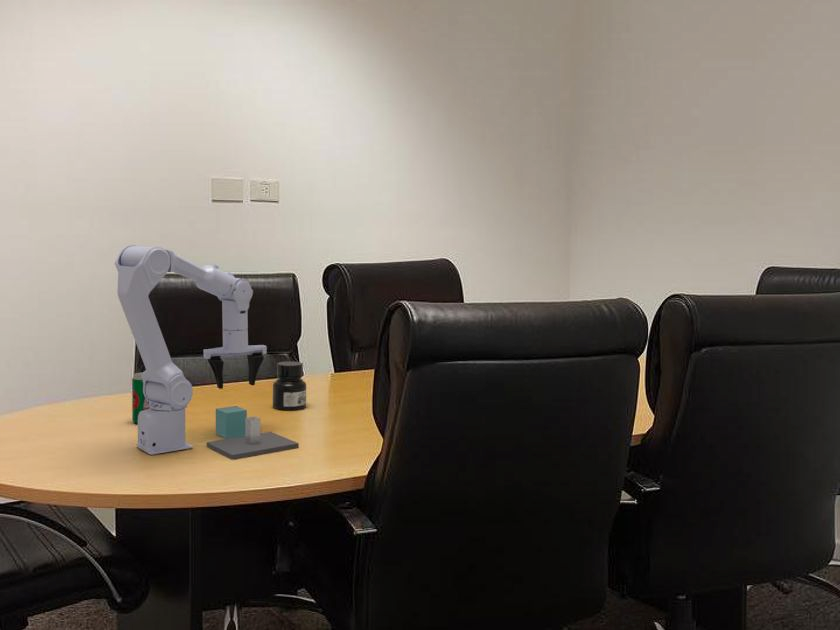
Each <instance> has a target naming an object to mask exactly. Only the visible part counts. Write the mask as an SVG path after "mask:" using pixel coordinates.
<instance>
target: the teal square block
mask: <svg viewBox="0 0 840 630" xmlns="http://www.w3.org/2000/svg"><path fill="white" fill-rule="evenodd" d="M247 417H248V410H247V409H245V408H243V407H239V406H237V405H232V406H225V407H218V408H215V435H217V436H219V437H221V438H223V439H229V438H235V437H241V436H245V418H247Z"/></svg>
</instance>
